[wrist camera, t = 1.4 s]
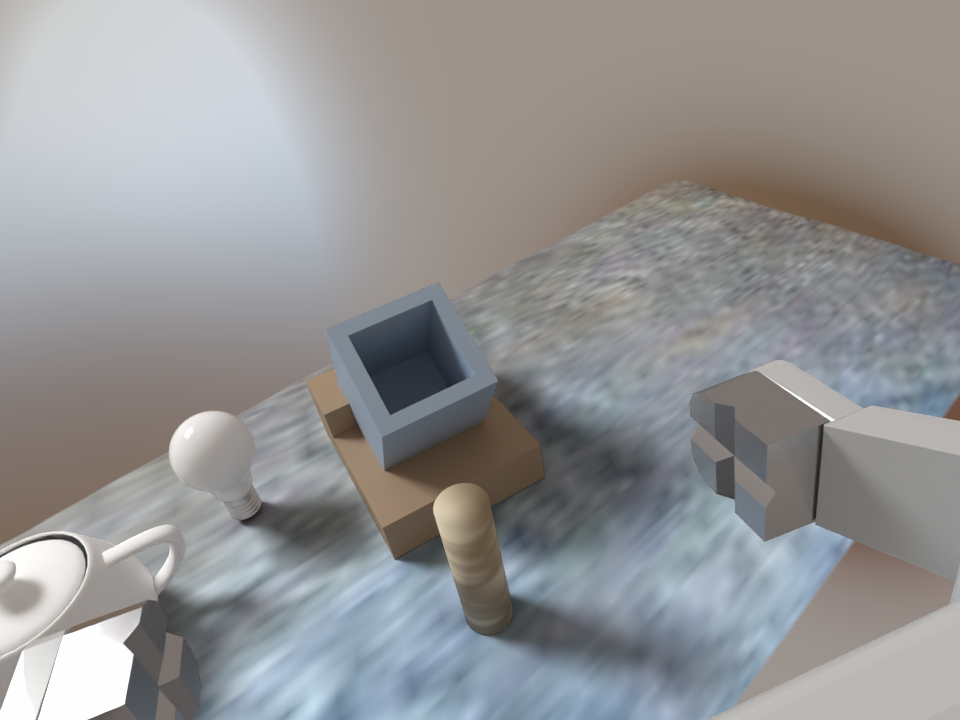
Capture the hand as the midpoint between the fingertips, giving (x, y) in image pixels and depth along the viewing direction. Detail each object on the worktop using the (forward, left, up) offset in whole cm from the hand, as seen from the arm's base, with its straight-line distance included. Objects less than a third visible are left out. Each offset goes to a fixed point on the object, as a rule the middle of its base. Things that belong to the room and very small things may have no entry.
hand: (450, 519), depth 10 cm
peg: (+6, +18, -35) cm, 40 cm away
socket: (+9, +35, -35) cm, 50 cm away
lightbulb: (-7, +39, -35) cm, 53 cm away
